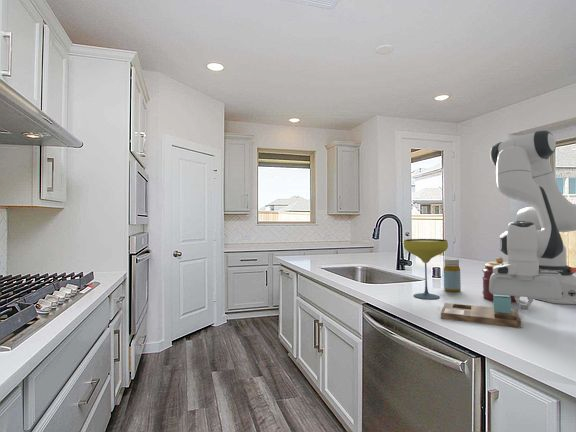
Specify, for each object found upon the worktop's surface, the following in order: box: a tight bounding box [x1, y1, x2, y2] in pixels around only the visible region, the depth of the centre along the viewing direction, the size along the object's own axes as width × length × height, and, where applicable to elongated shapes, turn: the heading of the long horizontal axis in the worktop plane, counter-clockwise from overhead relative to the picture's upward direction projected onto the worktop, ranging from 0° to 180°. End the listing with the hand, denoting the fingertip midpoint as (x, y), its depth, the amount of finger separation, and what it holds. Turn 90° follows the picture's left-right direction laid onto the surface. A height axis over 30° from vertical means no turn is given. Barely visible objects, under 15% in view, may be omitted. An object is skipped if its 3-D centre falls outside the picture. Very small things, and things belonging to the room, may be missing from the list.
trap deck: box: [440, 302, 522, 329], centre depth 117 cm, size 23×15×2 cm, turn 60°
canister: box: [481, 256, 517, 303], centre depth 142 cm, size 13×13×18 cm
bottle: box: [443, 257, 462, 293], centre depth 159 cm, size 7×7×15 cm
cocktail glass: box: [403, 238, 449, 301], centre depth 148 cm, size 18×18×25 cm
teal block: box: [492, 294, 512, 313], centre depth 117 cm, size 5×5×5 cm
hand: (523, 309), depth 114 cm, fingers closed
